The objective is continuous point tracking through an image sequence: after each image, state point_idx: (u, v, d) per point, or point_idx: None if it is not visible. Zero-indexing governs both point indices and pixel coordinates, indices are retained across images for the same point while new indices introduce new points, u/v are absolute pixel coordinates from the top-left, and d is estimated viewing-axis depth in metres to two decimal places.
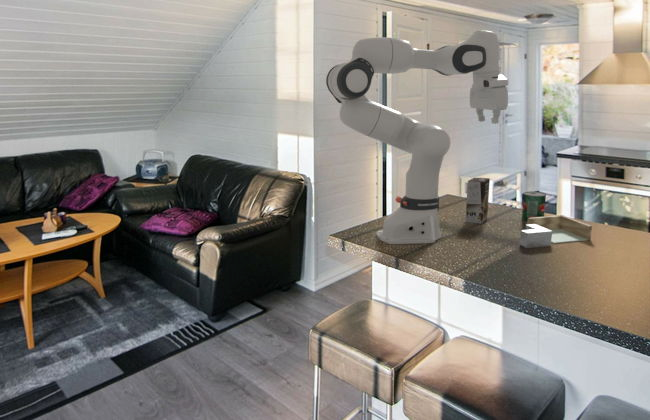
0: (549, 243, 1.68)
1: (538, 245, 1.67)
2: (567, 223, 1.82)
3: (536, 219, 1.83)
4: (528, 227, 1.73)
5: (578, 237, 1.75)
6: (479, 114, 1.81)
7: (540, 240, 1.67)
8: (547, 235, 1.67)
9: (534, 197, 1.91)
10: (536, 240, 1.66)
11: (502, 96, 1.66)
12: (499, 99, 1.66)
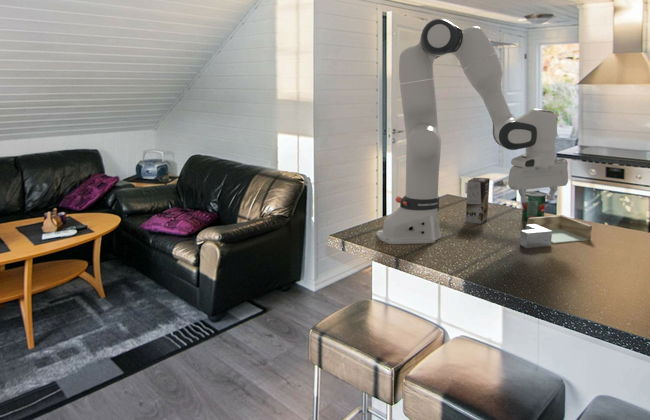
0: (549, 243, 1.68)
1: (538, 245, 1.67)
2: (567, 223, 1.82)
3: (536, 219, 1.83)
4: (528, 227, 1.73)
5: (578, 237, 1.75)
6: (550, 192, 1.72)
7: (540, 240, 1.67)
8: (547, 235, 1.67)
9: (534, 197, 1.91)
10: (536, 240, 1.66)
11: (512, 176, 1.67)
12: (509, 178, 1.68)
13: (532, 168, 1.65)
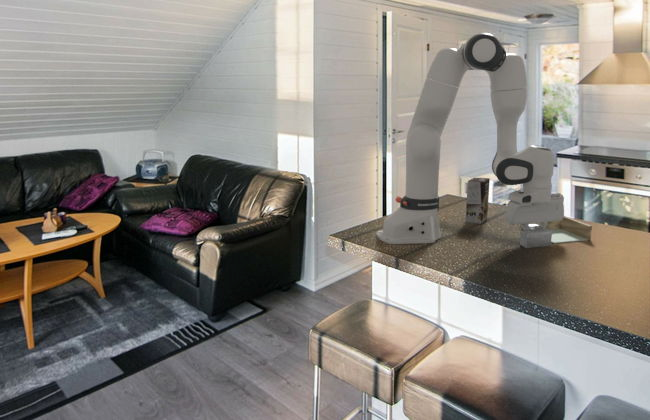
0: (549, 243, 1.68)
1: (538, 245, 1.67)
2: (567, 223, 1.82)
3: None
4: (528, 227, 1.73)
5: (578, 237, 1.75)
6: None
7: (540, 240, 1.67)
8: (547, 235, 1.67)
9: None
10: (536, 240, 1.66)
11: (509, 211, 1.69)
12: (506, 212, 1.71)
13: (529, 204, 1.67)
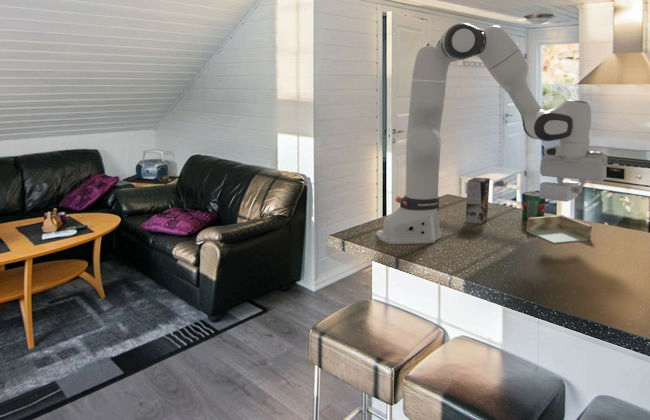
0: (565, 198, 1.66)
1: (552, 198, 1.69)
2: (567, 223, 1.82)
3: (536, 219, 1.83)
4: None
5: (578, 237, 1.75)
6: None
7: (554, 193, 1.68)
8: (562, 189, 1.66)
9: (534, 197, 1.91)
10: (549, 192, 1.69)
11: None
12: None
13: (555, 157, 1.70)
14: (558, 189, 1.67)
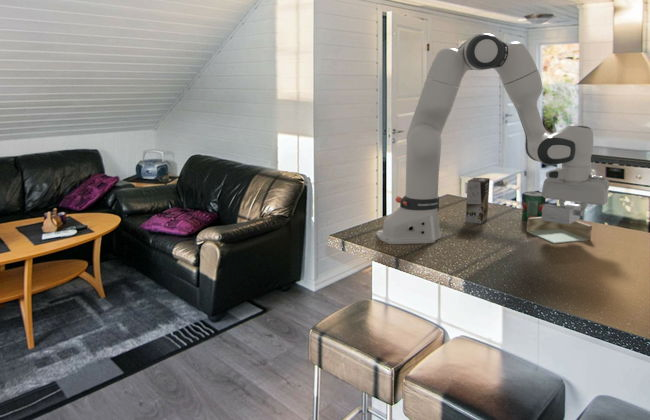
0: (567, 221, 1.68)
1: (555, 220, 1.71)
2: None
3: (536, 219, 1.83)
4: None
5: (578, 237, 1.75)
6: None
7: (556, 216, 1.71)
8: (564, 212, 1.69)
9: (534, 197, 1.91)
10: (552, 215, 1.72)
11: None
12: None
13: (557, 180, 1.72)
14: (560, 212, 1.69)
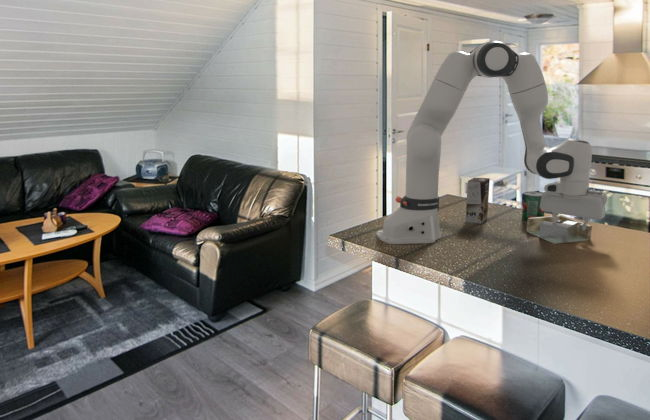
0: (564, 239, 1.70)
1: (552, 237, 1.73)
2: None
3: (536, 219, 1.83)
4: None
5: (578, 237, 1.75)
6: None
7: (554, 233, 1.72)
8: (562, 230, 1.70)
9: (534, 197, 1.91)
10: (549, 232, 1.73)
11: None
12: None
13: (556, 193, 1.73)
14: (558, 229, 1.71)
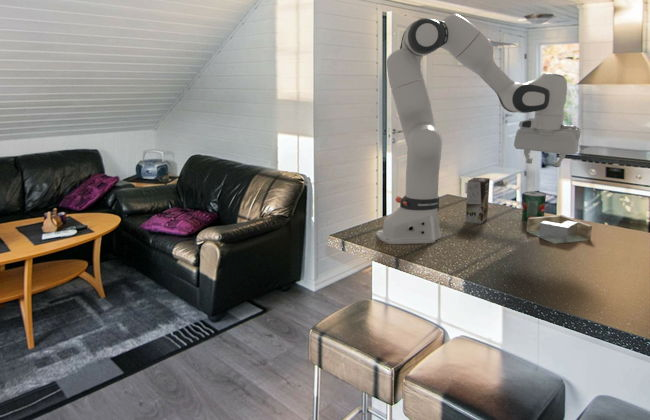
0: (564, 239, 1.70)
1: (552, 237, 1.73)
2: None
3: (536, 219, 1.83)
4: None
5: (578, 237, 1.75)
6: None
7: (554, 233, 1.72)
8: (562, 230, 1.70)
9: (534, 197, 1.91)
10: (549, 232, 1.73)
11: None
12: None
13: (530, 129, 1.73)
14: (558, 229, 1.71)
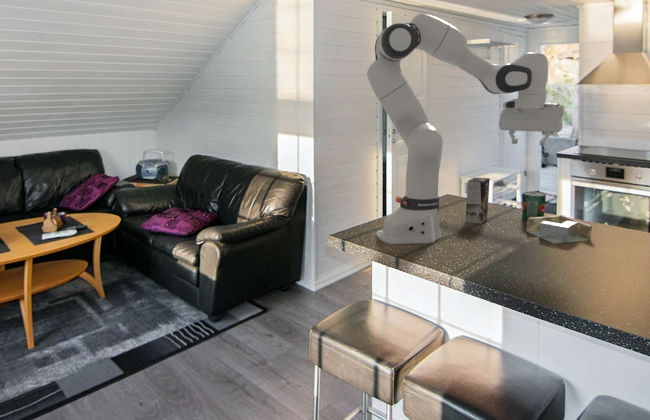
0: (564, 239, 1.70)
1: (552, 237, 1.73)
2: None
3: (536, 219, 1.83)
4: None
5: (578, 237, 1.75)
6: None
7: (554, 233, 1.72)
8: (562, 230, 1.70)
9: (534, 197, 1.91)
10: (549, 232, 1.73)
11: None
12: None
13: (514, 110, 1.74)
14: (558, 229, 1.71)
